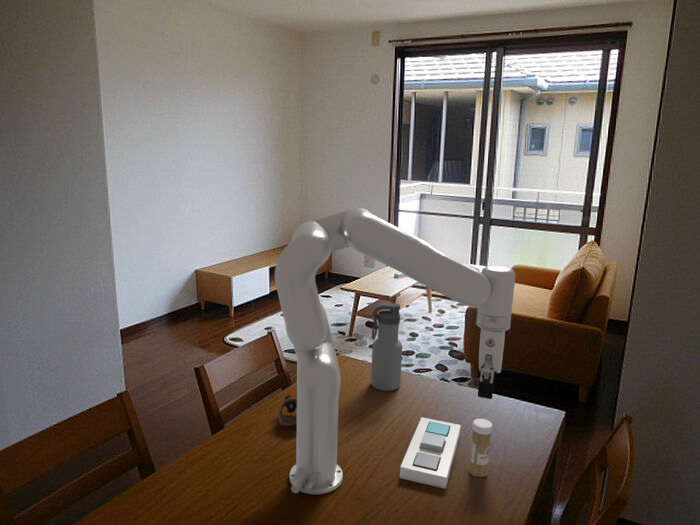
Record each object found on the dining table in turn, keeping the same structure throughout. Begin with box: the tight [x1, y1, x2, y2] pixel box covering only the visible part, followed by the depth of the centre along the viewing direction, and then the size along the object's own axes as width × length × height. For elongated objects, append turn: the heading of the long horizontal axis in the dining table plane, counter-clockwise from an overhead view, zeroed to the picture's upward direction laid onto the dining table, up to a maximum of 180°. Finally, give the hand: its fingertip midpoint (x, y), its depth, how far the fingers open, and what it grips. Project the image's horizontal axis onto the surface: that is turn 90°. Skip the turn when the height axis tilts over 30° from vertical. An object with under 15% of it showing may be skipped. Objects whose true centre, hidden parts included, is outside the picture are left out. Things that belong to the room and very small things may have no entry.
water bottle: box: [370, 302, 403, 392], centre depth 169 cm, size 10×10×28 cm
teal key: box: [426, 421, 450, 437], centre depth 141 cm, size 5×5×2 cm
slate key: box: [420, 432, 445, 453], centre depth 133 cm, size 5×5×2 cm
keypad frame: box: [399, 416, 462, 490], centre depth 133 cm, size 25×11×3 cm, turn 161°
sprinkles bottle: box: [468, 418, 493, 478], centre depth 126 cm, size 5×5×14 cm
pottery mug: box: [278, 394, 297, 427], centre depth 148 cm, size 12×10×8 cm
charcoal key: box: [414, 452, 440, 471], centre depth 126 cm, size 5×5×2 cm
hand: (486, 388), depth 122 cm, fingers open, 9 cm apart
